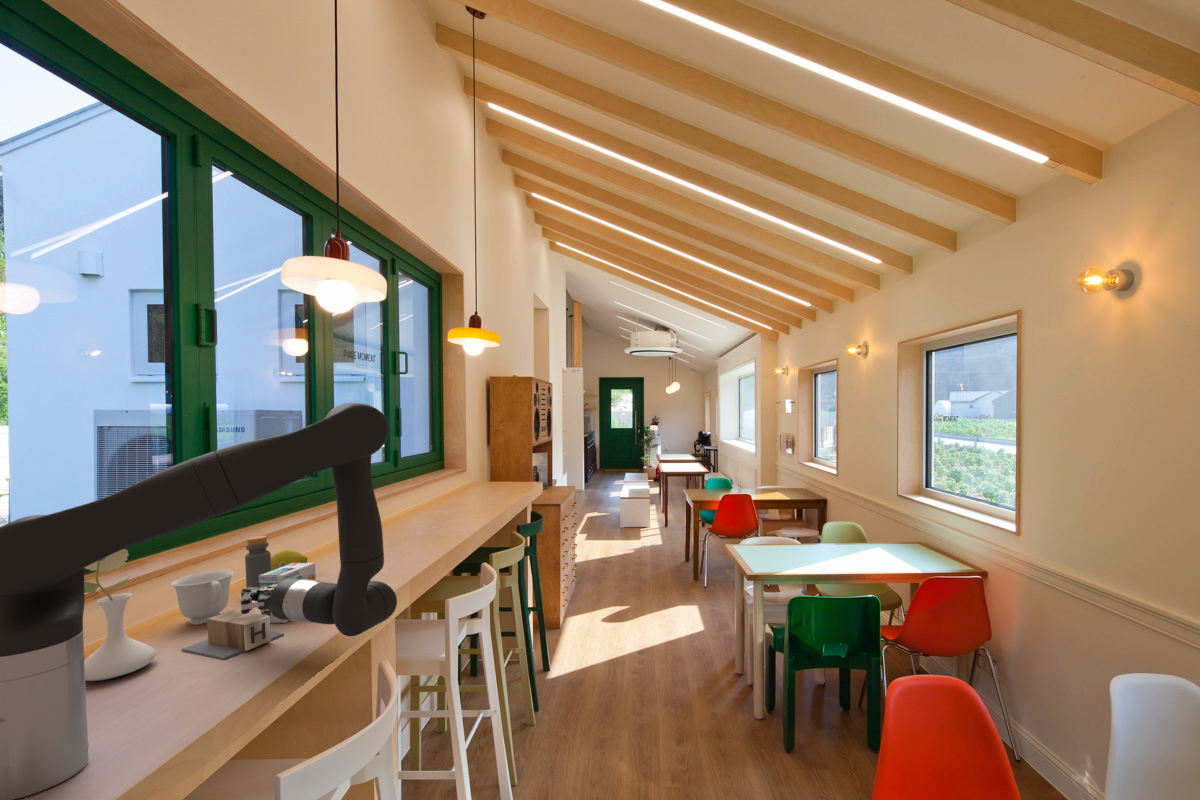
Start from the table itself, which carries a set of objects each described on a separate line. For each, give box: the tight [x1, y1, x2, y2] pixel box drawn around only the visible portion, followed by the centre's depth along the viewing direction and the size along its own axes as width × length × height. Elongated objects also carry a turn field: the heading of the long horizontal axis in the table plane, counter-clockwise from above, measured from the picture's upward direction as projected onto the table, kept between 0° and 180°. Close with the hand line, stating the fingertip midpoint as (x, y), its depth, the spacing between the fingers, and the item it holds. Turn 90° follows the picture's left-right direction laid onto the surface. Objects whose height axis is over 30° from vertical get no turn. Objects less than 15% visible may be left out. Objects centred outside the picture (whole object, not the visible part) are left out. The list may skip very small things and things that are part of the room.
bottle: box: [244, 535, 272, 588], centre depth 149 cm, size 6×6×15 cm
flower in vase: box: [84, 548, 157, 682], centre depth 103 cm, size 13×11×25 cm
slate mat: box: [181, 630, 285, 661], centre depth 114 cm, size 14×12×1 cm
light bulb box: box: [259, 562, 316, 624], centre depth 130 cm, size 11×7×11 cm, turn 168°
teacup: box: [170, 569, 235, 625], centre depth 129 cm, size 12×15×10 cm
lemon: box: [271, 550, 308, 571], centre depth 163 cm, size 11×8×8 cm
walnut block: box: [206, 610, 272, 652], centre depth 113 cm, size 5×5×12 cm
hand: (245, 593), depth 112 cm, fingers closed
